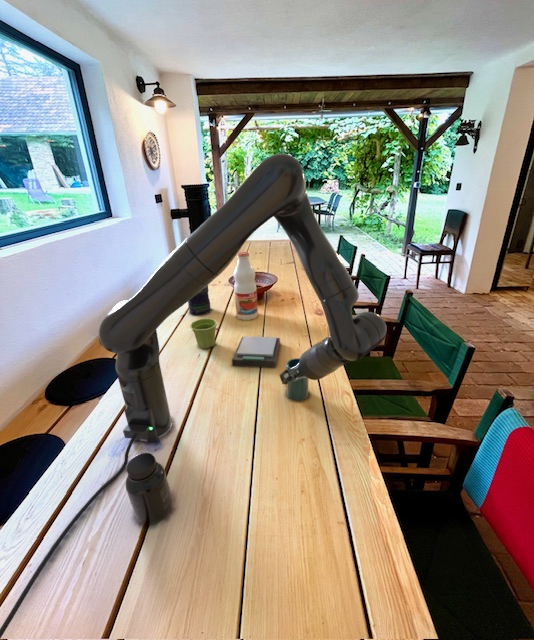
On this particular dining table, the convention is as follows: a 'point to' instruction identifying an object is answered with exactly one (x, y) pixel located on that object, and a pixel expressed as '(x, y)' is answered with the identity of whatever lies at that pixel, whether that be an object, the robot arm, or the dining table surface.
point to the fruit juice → (245, 288)
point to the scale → (256, 352)
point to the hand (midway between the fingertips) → (294, 377)
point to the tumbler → (296, 384)
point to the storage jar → (200, 303)
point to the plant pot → (204, 332)
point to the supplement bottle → (148, 489)
